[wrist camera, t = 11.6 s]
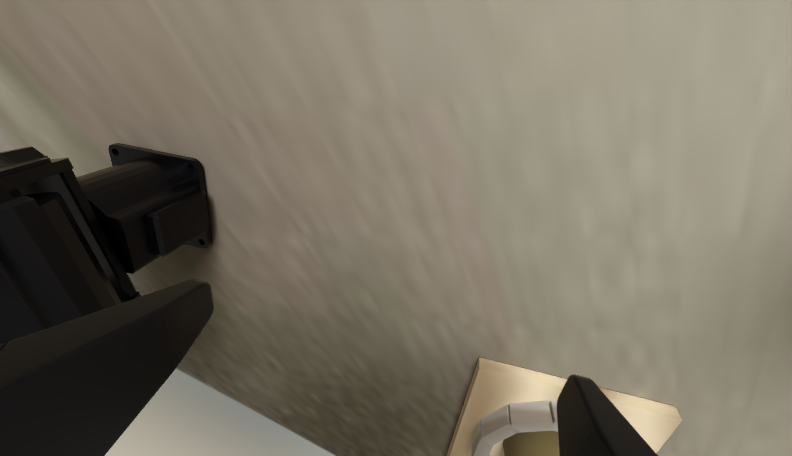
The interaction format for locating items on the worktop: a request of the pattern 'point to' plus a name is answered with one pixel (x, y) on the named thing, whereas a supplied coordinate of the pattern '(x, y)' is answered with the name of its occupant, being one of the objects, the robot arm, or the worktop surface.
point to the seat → (537, 410)
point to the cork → (532, 444)
